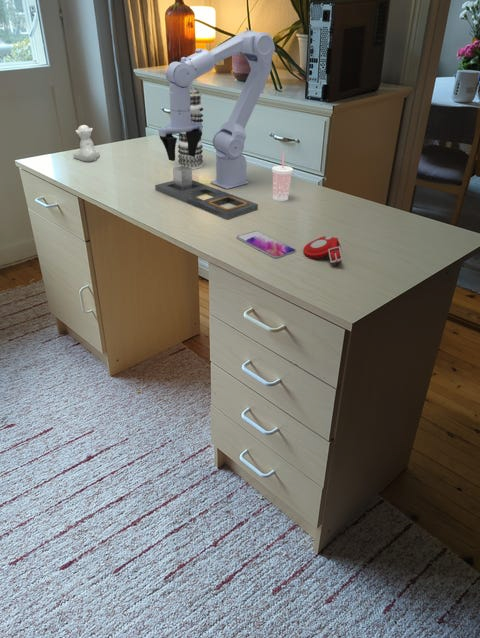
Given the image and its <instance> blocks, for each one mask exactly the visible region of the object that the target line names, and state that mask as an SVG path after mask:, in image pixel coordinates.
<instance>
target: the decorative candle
mask: <svg viewBox="0 0 480 638" xmlns="http://www.w3.org/2000/svg"><path fill="white" fill-rule="evenodd" d="M201 95H202V93H201V92H200V91H199V89H197V88H196V87H190V108H191V123H193V122H200V123H203V122H204V119H203V117H204V114H202V113H201V112H202V111H204V108H203V107H202V103H201V99H202V98H201ZM203 127H204V126H203V125H202V130H199V131H202V132H203ZM202 143H203V140H202V137H201V138H200V140H199V142H198V145H197V148H196V153H195V156H194V157H193V156H190V155H189V153H188V142H187V136H186V133H185V132H183V133H178V145H177V148H178V150H177V152H178V155H177V156H178V157H177V159H178V167H179V166H186V167H189V168H192V170H197V168H199V169H201V168H203V165H204V164H203V162H204V161H203V148H204V146H203V145H202ZM200 167H201V168H200Z"/></svg>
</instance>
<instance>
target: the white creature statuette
mask: <svg viewBox="0 0 480 638" xmlns="http://www.w3.org/2000/svg"><path fill="white" fill-rule="evenodd" d="M93 129H94V128H93V127H90V126H88V125H86V124H82V125H79V126H78V128H77V129H75V130H74V131H75V132H76V134H77V135H78V137H79V138H80V141H79V147H80V149H79V151H78V150H76V151H74V152H73V153H72V155H73V157H74V159H75V160H78V161H82V162H87V163H89V162H95V161H96V160H98V158H99V157H100V154H101V152H100V151H99V150H98V149H95V146H94V145H95V144H94V142H93V140H92V138H91V135H92V132H93Z"/></svg>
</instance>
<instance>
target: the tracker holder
mask: <svg viewBox="0 0 480 638" xmlns="http://www.w3.org/2000/svg"><path fill="white" fill-rule="evenodd" d="M302 251H303V254H305V255H304V256H305V257H306V258H308V257H309V259H320V258H324V257H326V256H328V257H329V262H330V264H334V265H338V264H341V263H342V261H343V260H344V259H343V253H342V249H341V244H340V241H339V238H338V237H333V236H321V237H319V238H316V239H314V240H312V241H310V242H308V243H307V244H305V246H304V247H303V249H302ZM340 256H341V257H340Z"/></svg>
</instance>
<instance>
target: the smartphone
mask: <svg viewBox="0 0 480 638" xmlns="http://www.w3.org/2000/svg"><path fill="white" fill-rule="evenodd" d="M236 239H237V240H238V241H240V242H242V243H243V244H245V245H248V246H250V247H252V248H253V249H255V250H257V251H259V252H261V253H263V254H264V255H266V256H268V257H270V258H273V259H275V260H276V259H280V258H283V257H287V256H289V255H292V254H295V253H296V252H297V250H296V248H293V247H291V246H289V245H287V244H285V243H283V242H282V241H279V240H277V239H275V238H273V237H270V236H269V235H266V234H265V233H262V232H261V231H258V230H253V231H251V232H247V233H242V234H239V235H237V236H236Z"/></svg>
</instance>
